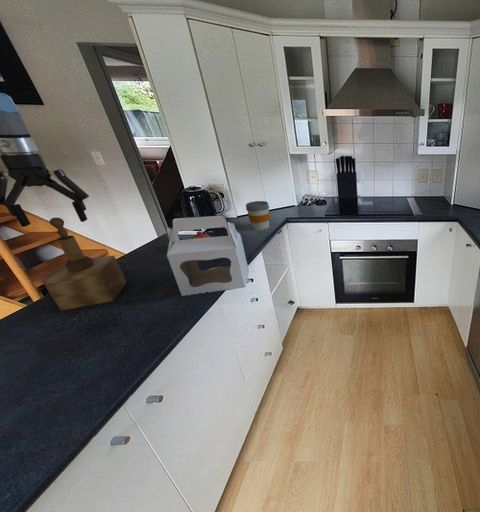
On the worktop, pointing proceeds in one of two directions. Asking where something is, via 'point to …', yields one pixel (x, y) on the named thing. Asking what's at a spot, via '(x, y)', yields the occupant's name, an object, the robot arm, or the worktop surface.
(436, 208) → the worktop surface
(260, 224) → the reusable coffee cup
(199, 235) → the butter dish
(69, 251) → the mortar and pestle
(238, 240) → the gable box
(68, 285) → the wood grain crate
